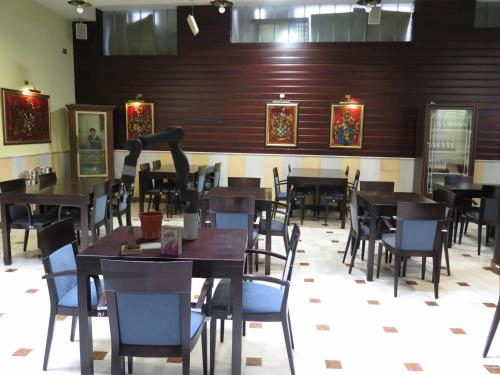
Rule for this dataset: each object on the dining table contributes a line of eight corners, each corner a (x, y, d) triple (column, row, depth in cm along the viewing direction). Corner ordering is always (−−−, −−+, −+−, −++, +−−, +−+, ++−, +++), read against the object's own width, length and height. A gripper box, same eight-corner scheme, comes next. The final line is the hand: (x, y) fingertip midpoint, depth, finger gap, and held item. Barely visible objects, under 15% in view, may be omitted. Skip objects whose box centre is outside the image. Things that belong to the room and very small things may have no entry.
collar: (122, 249, 248) (122, 245, 248) (141, 248, 250) (141, 244, 250) (121, 254, 237) (121, 250, 237) (141, 253, 240) (141, 249, 240)
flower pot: (134, 236, 279) (134, 213, 277) (156, 233, 290) (156, 210, 288) (145, 241, 267) (145, 216, 265) (168, 238, 277) (168, 214, 275)
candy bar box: (160, 254, 239) (160, 226, 237) (164, 252, 244) (164, 224, 242) (178, 256, 236) (178, 227, 234) (182, 254, 241) (182, 225, 239)
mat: (141, 244, 261) (141, 243, 260) (161, 243, 263) (161, 242, 263) (141, 249, 249) (141, 248, 249) (161, 248, 252) (161, 247, 252)
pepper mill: (128, 250, 246) (127, 225, 244) (136, 250, 247) (135, 225, 245) (127, 253, 241) (127, 227, 239) (135, 252, 242) (135, 227, 240)
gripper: (140, 176, 231) (136, 205, 231) (129, 174, 242) (124, 202, 242) (128, 174, 226) (123, 203, 226) (116, 172, 237) (112, 201, 237)
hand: (124, 203), depth 234 cm, fingers open, 8 cm apart
